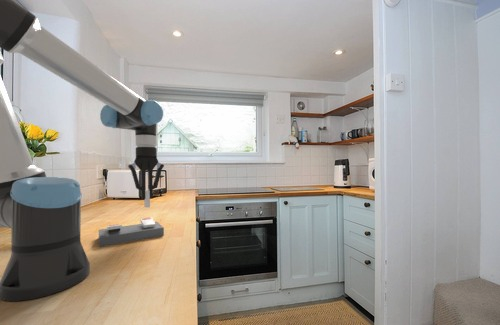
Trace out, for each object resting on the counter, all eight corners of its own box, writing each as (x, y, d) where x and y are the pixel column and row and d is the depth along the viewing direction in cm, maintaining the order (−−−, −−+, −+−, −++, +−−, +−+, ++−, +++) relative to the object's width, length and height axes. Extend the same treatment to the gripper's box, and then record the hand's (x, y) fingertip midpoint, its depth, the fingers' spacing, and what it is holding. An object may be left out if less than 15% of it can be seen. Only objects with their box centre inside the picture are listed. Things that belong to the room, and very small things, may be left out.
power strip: (163, 235, 84) (163, 225, 84) (99, 247, 73) (99, 235, 73) (156, 228, 93) (156, 219, 93) (98, 238, 82) (98, 227, 82)
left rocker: (121, 227, 78) (121, 224, 78) (108, 229, 76) (108, 226, 76) (119, 227, 84) (119, 223, 84) (107, 228, 82) (107, 225, 82)
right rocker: (155, 226, 85) (155, 223, 84) (143, 228, 82) (143, 225, 82) (151, 219, 90) (151, 216, 90) (140, 220, 88) (140, 218, 88)
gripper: (161, 147, 95) (162, 203, 95) (126, 147, 88) (127, 207, 88) (165, 146, 89) (166, 206, 89) (128, 145, 82) (129, 210, 82)
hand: (147, 206), depth 89 cm, fingers closed
